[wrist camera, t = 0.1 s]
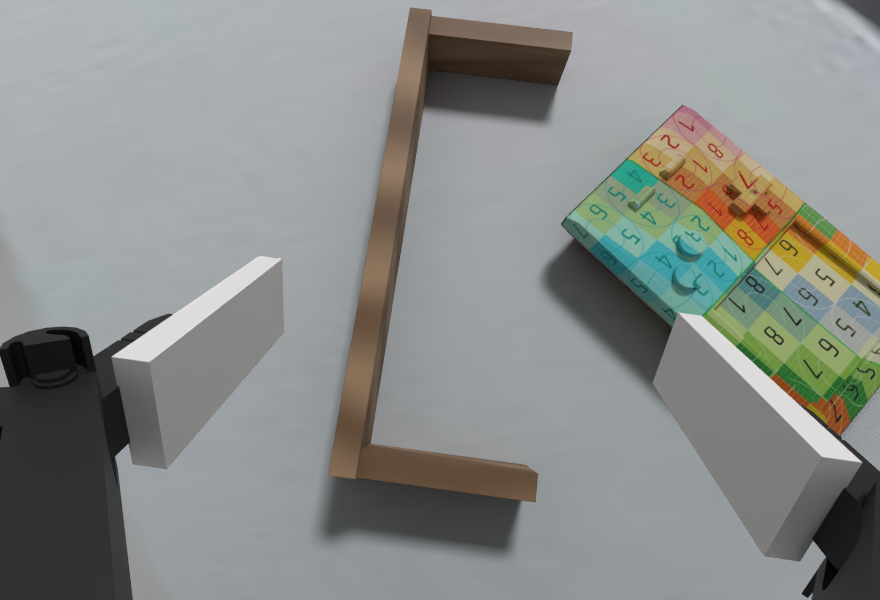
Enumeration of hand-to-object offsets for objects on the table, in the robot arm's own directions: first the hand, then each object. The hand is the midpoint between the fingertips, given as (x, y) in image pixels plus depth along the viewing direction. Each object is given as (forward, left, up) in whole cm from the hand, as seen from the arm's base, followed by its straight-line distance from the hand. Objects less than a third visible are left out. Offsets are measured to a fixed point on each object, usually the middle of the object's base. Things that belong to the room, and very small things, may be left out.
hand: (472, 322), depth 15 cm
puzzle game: (+8, -17, -16) cm, 25 cm away
